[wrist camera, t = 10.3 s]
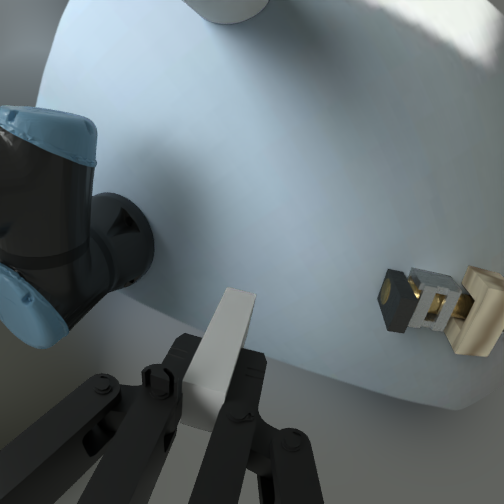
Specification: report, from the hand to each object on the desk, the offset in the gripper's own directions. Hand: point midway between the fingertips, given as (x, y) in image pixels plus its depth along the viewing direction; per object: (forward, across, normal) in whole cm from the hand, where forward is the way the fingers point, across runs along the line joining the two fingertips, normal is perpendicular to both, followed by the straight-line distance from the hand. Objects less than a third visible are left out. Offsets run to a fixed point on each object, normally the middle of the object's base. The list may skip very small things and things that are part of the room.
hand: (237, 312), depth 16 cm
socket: (+26, +33, -8) cm, 43 cm away
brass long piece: (+26, +26, -8) cm, 37 cm away
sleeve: (+26, +24, -8) cm, 36 cm away
